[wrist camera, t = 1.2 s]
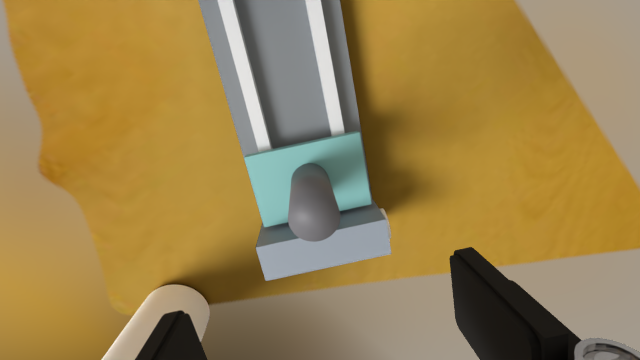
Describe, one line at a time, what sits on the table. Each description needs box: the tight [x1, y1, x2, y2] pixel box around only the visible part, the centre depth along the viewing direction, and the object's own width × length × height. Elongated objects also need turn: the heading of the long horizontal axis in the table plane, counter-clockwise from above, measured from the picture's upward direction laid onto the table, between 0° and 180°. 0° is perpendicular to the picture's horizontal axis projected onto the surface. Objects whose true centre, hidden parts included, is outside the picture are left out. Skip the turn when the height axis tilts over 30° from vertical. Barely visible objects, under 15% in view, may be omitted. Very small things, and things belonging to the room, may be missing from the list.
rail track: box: [198, 0, 391, 281], centre depth 23 cm, size 24×10×6 cm, turn 12°
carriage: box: [244, 131, 371, 242], centre depth 21 cm, size 6×9×8 cm, turn 102°
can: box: [102, 285, 210, 360], centre depth 25 cm, size 6×6×12 cm
